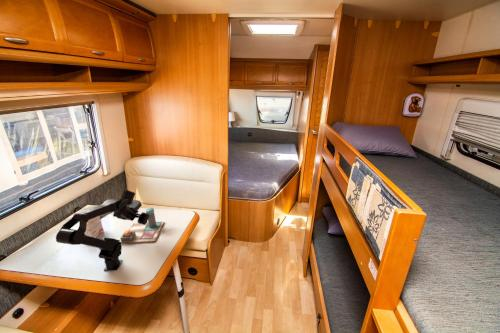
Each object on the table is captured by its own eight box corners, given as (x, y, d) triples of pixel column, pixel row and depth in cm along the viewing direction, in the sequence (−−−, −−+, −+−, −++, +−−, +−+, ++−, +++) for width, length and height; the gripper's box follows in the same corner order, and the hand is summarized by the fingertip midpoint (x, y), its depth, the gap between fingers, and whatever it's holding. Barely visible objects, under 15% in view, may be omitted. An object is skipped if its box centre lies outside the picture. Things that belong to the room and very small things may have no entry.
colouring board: (155, 242, 133) (154, 236, 132) (120, 244, 132) (118, 238, 130) (164, 222, 152) (163, 217, 151) (133, 224, 150) (132, 219, 149)
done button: (129, 237, 133) (128, 233, 132) (124, 238, 133) (123, 233, 132) (132, 234, 136) (131, 230, 135) (126, 234, 136) (125, 230, 135)
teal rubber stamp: (156, 227, 145) (153, 210, 141) (149, 229, 144) (145, 212, 139) (156, 223, 149) (153, 207, 145) (148, 225, 148) (145, 208, 143)
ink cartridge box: (97, 230, 145) (91, 210, 140) (103, 230, 144) (98, 211, 139) (85, 238, 137) (79, 217, 132) (92, 239, 136) (86, 218, 131)
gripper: (147, 201, 125) (159, 211, 138) (119, 195, 129) (133, 205, 142) (137, 220, 119) (151, 228, 132) (108, 213, 123) (124, 222, 136)
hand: (140, 220), depth 136 cm, fingers open, 9 cm apart
